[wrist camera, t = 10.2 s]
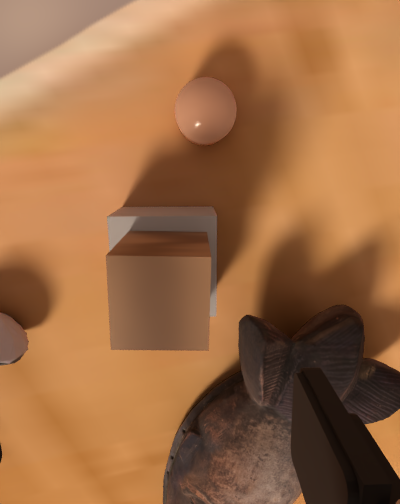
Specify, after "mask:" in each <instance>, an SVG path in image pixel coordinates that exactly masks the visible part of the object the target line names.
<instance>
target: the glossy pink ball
mask: <svg viewBox="0 0 400 504" xmlns="http://www.w3.org/2000/svg"><path fill="white" fill-rule="evenodd" d="M236 114H237V107H236V101H235V98H234V96H233V93H232V92H231V90H230V89H229V88H228V86H226V85H225V84H224V83H223V82H221V81H220V80H218V79H215V78H211V77H200V78H196V79H194V80H192V81H190V82H189V83H187V84H186V85H185V86H184V87H183V88H182V89H181V91H180V92H179V94H178V96H177V99H176V103H175V118H176V121H177V124H178V127H179V129H180V131H181V133H182V134H183V135H184V137H185V138H186V139H188V140H189V141H190V142H192V143H194V144H197V145H211V144H214V143H216V142H218V141H219V140H221V139H222V138H223V137H225V136H226V135H227V134H228V133H229V131H230V130H231V128H232V127H233V125H234V122H235V119H236Z"/></svg>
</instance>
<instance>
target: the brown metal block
mask: <svg viewBox="0 0 400 504" xmlns="http://www.w3.org/2000/svg"><path fill="white" fill-rule="evenodd" d="M106 265H107V284H108V303H109V322H110V341H111V350H196V351H209V321H210V287H211V252H210V247H209V241H208V235H207V232H184V231H128V232H127V234H126V235H125V236H124V237H123V238H122V239H121V240H120V241H119V242H118V243H117V244H116V245H115V246H114V247H113V249H112V250H111V251H110V252H109V253H108V254H107V255H106Z"/></svg>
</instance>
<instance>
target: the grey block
mask: <svg viewBox="0 0 400 504" xmlns="http://www.w3.org/2000/svg"><path fill="white" fill-rule="evenodd" d="M107 222H108V235H109V249H110V251H111V250H112V249H113V247H114V246H115V245H116V244H117V243H118V242H119V241H120V240H121V239H122V238H123V237H124V236H125V235H126V234H127V232H128V231H184V232H207V235H208V241H209V247H210V252H211V287H210V316H216V288H217V215H216V212H215V210H214V208H213V206H179V207H121V208H120V209H118V210H117V211H115V212H114V213H112V214H110V215H109V216H107Z"/></svg>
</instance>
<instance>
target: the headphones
mask: <svg viewBox="0 0 400 504" xmlns="http://www.w3.org/2000/svg"><path fill="white" fill-rule="evenodd" d="M28 342H29V341H28V339H27V333H26V332H25V331H24V330H23V328H22V326H21V325H20V324H19V323H17V322H16V321H15V320H14V319H13V318H12V317H10V316H9V315H7V314H4V313H1V312H0V365H7V364H12V363H15V362H17V361H19V360H20V359H21V357H22V356H23V354H24V353H25V352H26V351H27V350H28Z"/></svg>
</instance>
